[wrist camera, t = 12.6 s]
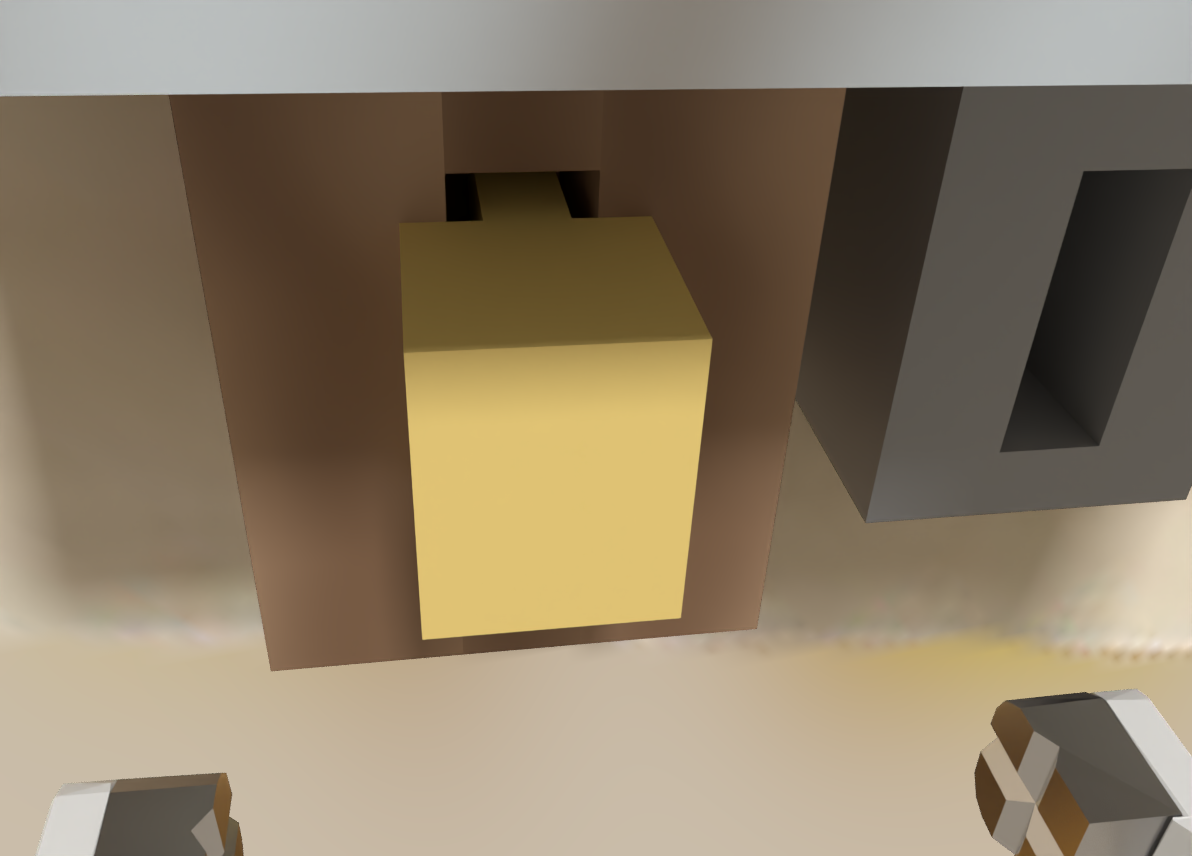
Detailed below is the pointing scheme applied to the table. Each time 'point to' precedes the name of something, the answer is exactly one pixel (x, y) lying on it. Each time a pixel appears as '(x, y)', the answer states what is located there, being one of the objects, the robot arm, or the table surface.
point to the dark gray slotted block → (1005, 300)
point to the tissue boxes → (440, 194)
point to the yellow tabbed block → (548, 413)
